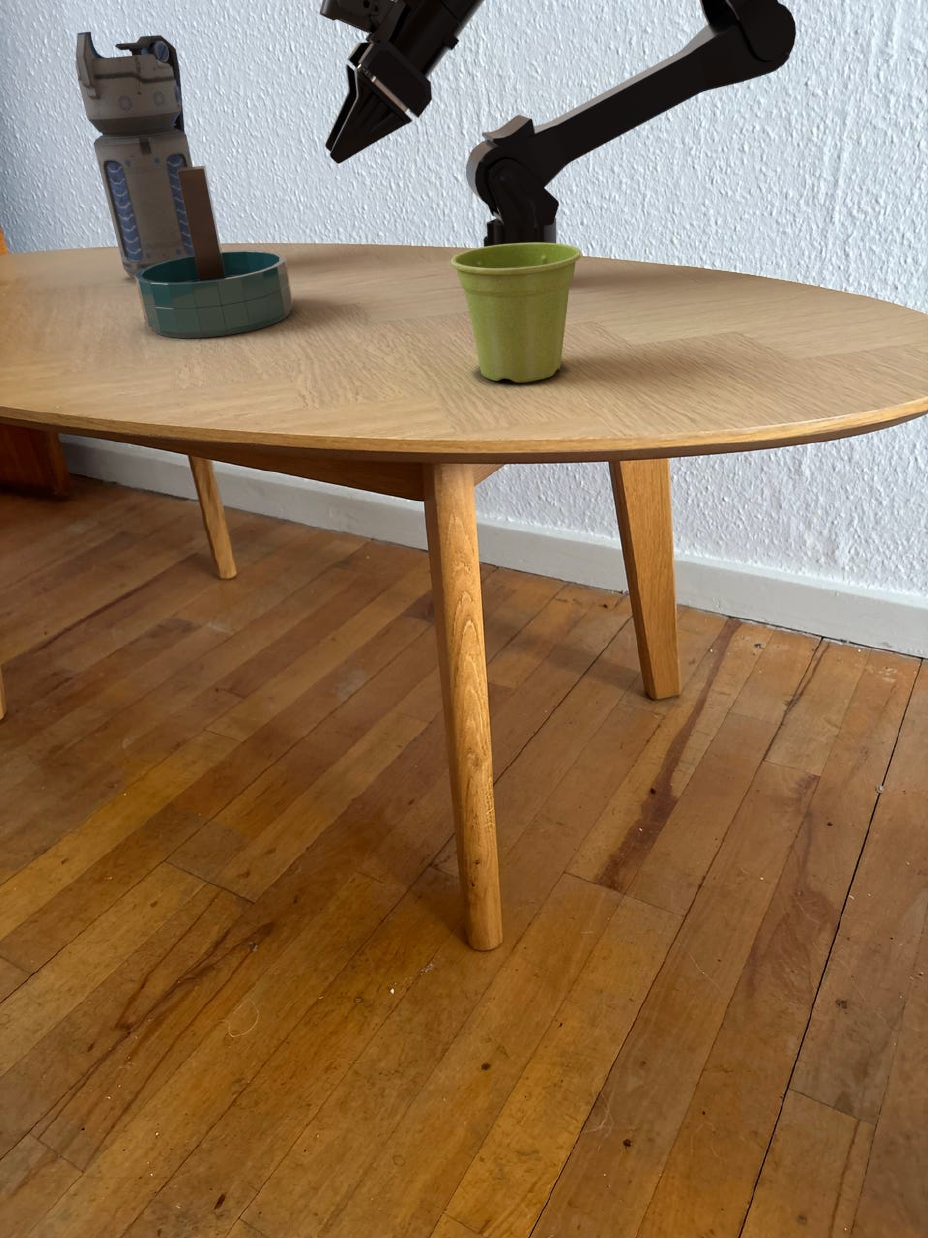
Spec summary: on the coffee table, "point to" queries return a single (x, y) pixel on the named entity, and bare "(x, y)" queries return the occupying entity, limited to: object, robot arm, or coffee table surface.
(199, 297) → the bowl
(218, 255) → the brown post on base
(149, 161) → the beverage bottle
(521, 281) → the plant pot
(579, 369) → the coffee table surface
